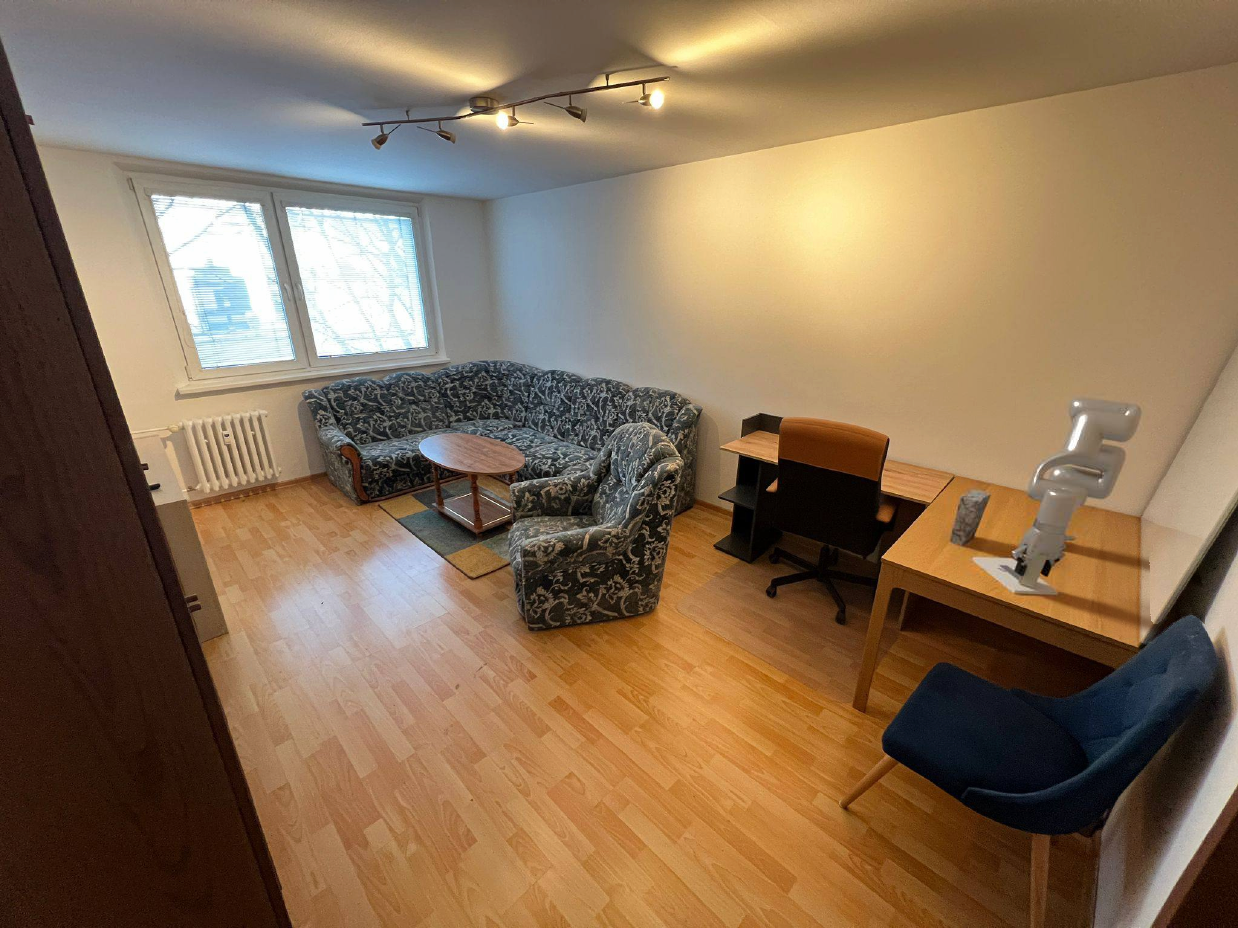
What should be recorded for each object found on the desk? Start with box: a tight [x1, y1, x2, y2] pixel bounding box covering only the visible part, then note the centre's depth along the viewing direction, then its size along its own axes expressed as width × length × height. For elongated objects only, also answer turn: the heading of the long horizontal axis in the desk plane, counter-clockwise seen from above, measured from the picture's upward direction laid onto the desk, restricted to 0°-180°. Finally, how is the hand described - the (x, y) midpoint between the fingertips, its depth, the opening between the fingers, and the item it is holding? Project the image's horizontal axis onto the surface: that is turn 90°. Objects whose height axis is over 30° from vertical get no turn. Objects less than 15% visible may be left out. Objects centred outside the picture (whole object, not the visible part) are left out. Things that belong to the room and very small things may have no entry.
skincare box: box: [1018, 555, 1048, 588], centre depth 155 cm, size 6×4×12 cm
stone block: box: [949, 488, 991, 547], centre depth 183 cm, size 13×7×20 cm, turn 132°
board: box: [972, 556, 1059, 596], centre depth 163 cm, size 14×20×1 cm
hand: (1030, 573), depth 156 cm, fingers closed on skincare box, 7 cm apart
